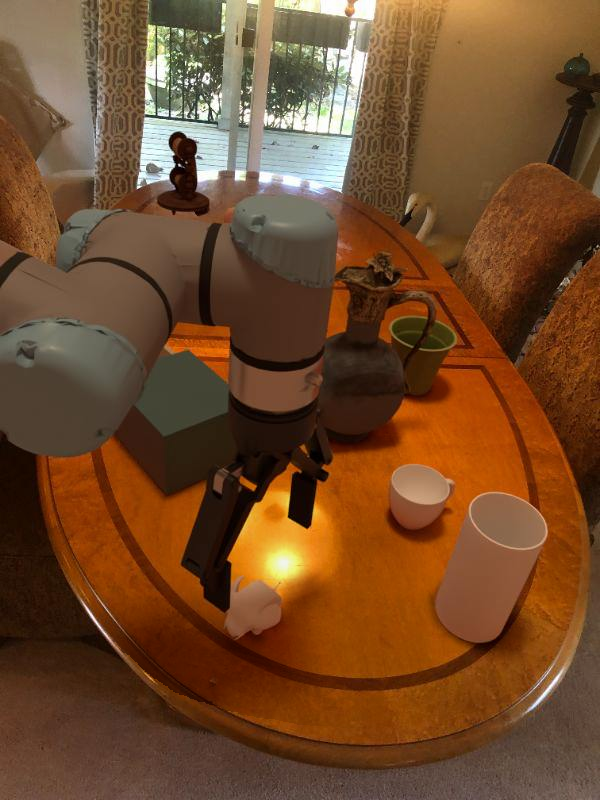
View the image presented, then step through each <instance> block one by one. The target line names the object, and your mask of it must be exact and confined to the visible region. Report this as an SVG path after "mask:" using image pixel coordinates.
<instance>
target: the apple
mask: <svg viewBox="0 0 600 800" xmlns="http://www.w3.org/2000/svg"><path fill="white" fill-rule="evenodd" d="M235 207H236V206H231V207H228V208H227V209H226V210H225V211H224V215H223V223H230V222H231V220H232V219H233V212H234V209H235Z"/></svg>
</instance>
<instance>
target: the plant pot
mask: <svg viewBox="0 0 600 800" xmlns="http://www.w3.org/2000/svg"><path fill="white" fill-rule="evenodd" d="M427 320H428V316H427V317H426V316H421V315H404V316H400V317H397V318H395V319H393V320H392V321H390V323H389V326H388V331H389V334H390V343H391V347H392V348H393V349H394V350H395V351H396V353H397V354H398V356H399V358H400V360H401V362H402V365H404V362H405V359H406V357H407V355H408V354H409V353H410V352H411V350H412V349H413V347H414V346H415V344H416V343H417V342H418V341H419V339H420V338H421V336H422V334H423V329H424V327H425V325H426V323H427ZM457 342H458V335H457V334H456V332H455V331H454V330H453V328H451V327H450V326H448V325H447V324H446V323H443V322H442V321H439V320H437V319H436V320H435V324H434V326H433V328H432V331H431V333H430V334H429V335H428V337H427V339H426V340H425V342H424V343H423V344H422V346H421V347H420V348H419V350H418V351H417V352H416V353H415V355H413V356H412V358H411V359H410V362H409V364H408V365H407V367H406V380H407V382H408V385H409V387H410V390H411V394H410V393H409V391H408V390H407V388H406V385H405V392H404V395H413V396H422V395H425V394H428V392H429V391H430V390H431V387H432V386H433V383H434V381H435V379H436V377H437V375H438V373H439V371H440V369H441V367H442V364H443V363H444V361H445V359H446V357H447V356H448V355H449V353H450V352H451V349H453V348H454V347H455V346H457V345H456V344H457Z"/></svg>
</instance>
